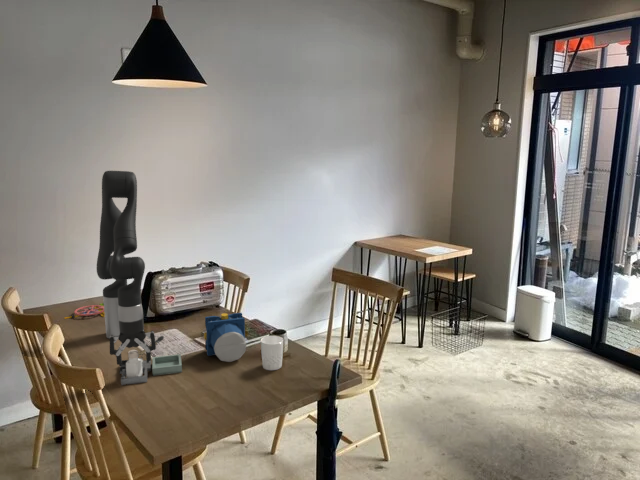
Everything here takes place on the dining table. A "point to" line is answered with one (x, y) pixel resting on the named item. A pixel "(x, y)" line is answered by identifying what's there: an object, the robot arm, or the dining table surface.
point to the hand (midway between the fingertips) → (134, 363)
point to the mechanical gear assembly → (89, 311)
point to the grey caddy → (138, 379)
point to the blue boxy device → (225, 336)
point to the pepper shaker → (133, 364)
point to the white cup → (272, 352)
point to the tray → (167, 364)
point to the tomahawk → (150, 345)
